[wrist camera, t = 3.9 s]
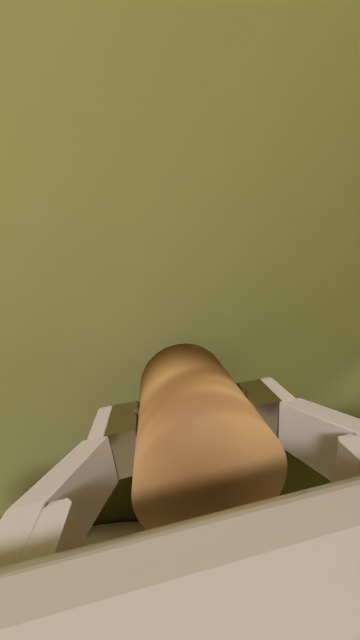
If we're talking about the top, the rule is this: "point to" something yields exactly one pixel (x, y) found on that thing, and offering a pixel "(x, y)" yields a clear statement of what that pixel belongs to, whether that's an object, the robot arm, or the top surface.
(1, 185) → the top surface
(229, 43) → the top surface
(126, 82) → the top surface
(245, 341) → the top surface
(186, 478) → the tan egg
